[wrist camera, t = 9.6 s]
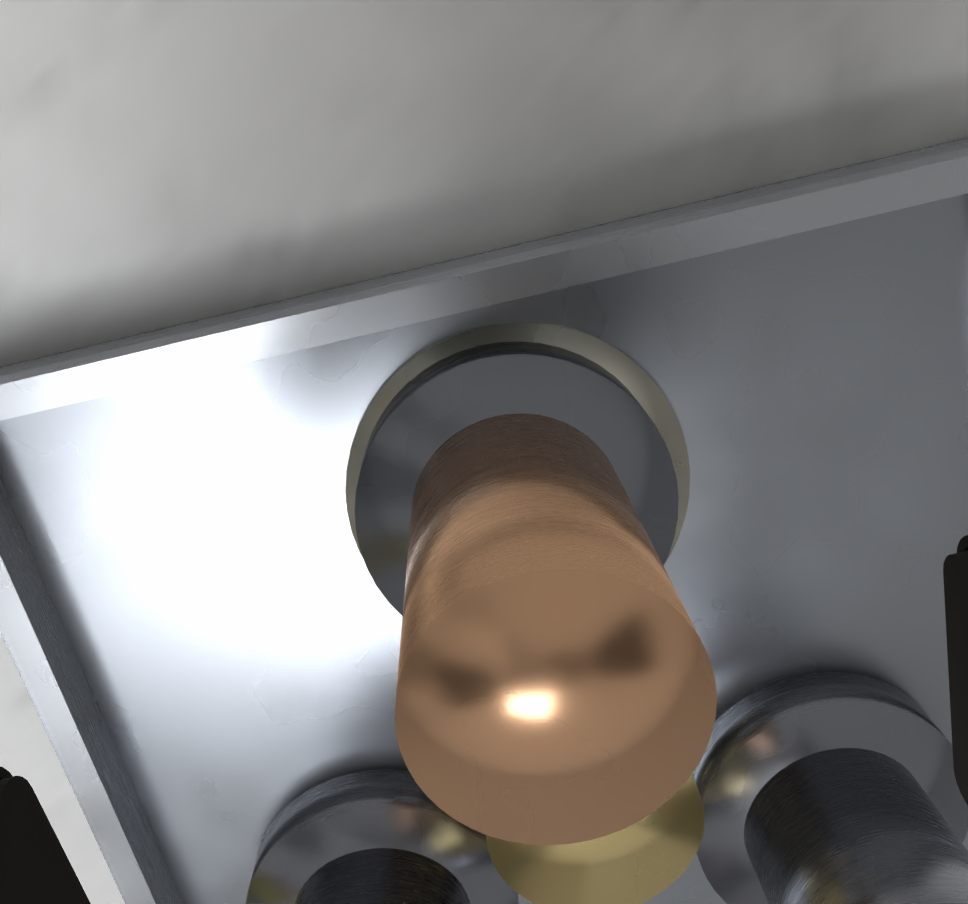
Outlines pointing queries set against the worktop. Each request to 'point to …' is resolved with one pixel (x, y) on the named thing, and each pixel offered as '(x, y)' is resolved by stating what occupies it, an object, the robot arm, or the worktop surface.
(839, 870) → the carrier
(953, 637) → the robot arm
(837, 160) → the worktop surface
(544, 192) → the worktop surface
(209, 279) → the worktop surface
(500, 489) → the copper post on disc
